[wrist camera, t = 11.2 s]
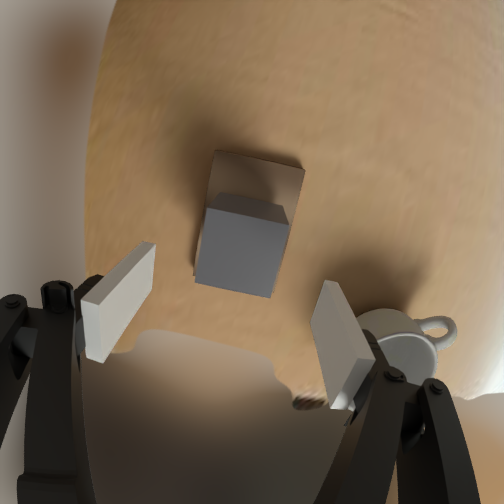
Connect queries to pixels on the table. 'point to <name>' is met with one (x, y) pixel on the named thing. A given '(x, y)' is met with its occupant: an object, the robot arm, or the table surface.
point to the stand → (253, 186)
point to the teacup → (408, 341)
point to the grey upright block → (242, 244)
